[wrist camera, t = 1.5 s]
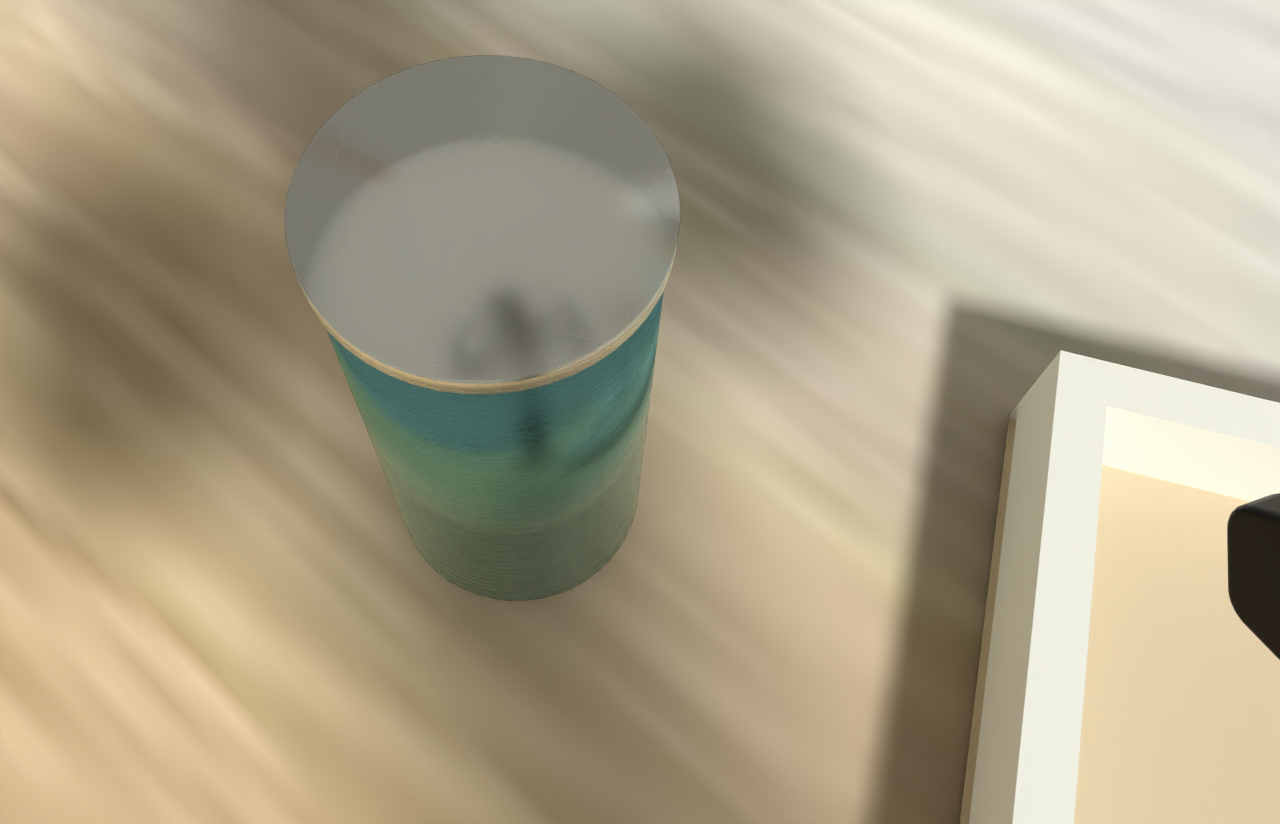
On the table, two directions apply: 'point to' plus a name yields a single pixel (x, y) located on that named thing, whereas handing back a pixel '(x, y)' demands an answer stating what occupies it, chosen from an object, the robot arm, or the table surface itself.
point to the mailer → (1124, 609)
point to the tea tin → (494, 306)
